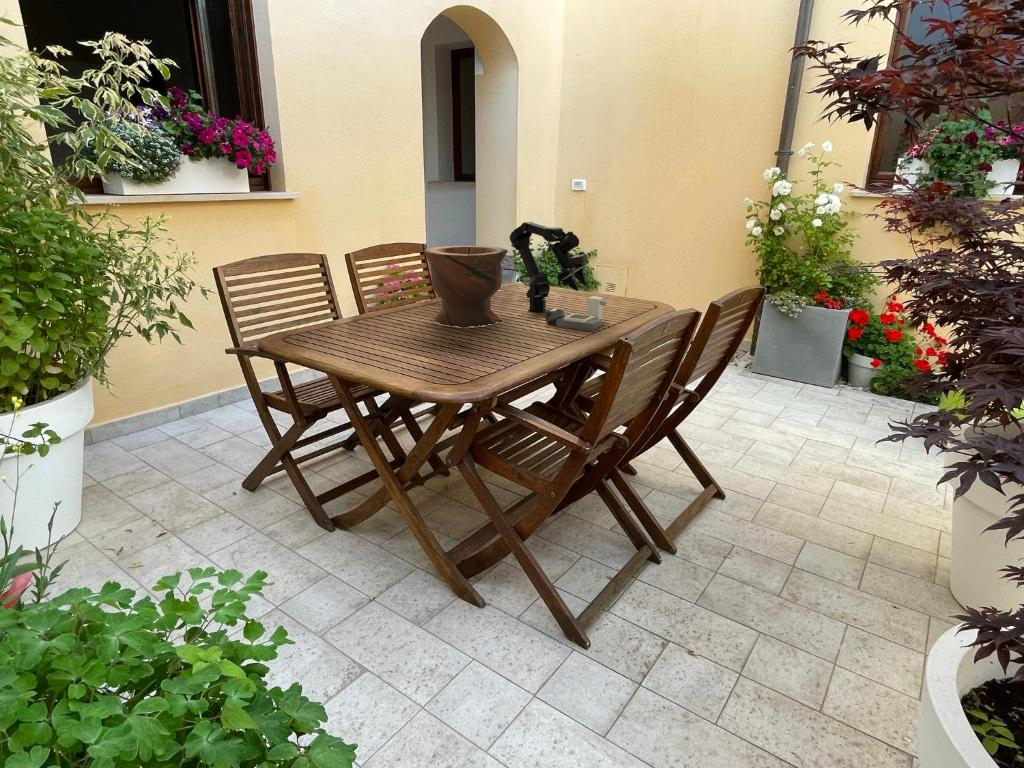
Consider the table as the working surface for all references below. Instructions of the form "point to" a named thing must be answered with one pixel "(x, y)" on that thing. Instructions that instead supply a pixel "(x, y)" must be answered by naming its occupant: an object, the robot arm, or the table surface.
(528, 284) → the mechanical component
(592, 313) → the cream block
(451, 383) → the table surface
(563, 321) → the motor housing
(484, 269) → the wooden planter
